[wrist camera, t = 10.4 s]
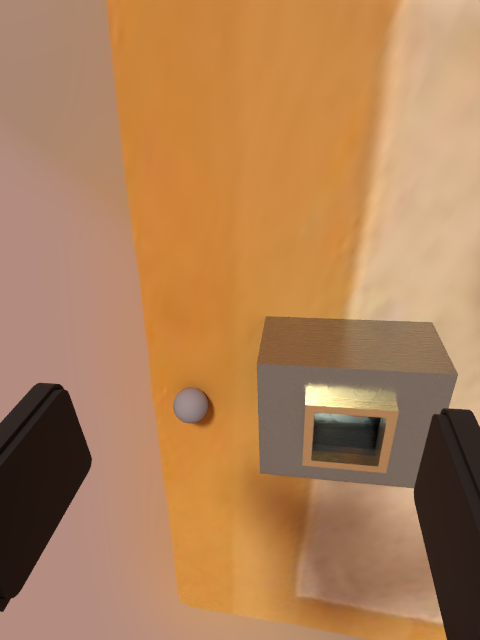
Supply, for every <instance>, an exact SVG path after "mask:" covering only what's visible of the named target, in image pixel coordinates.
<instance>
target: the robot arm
mask: <svg viewBox="0 0 480 640" xmlns="http://www.w3.org/2000/svg"><path fill="white" fill-rule="evenodd" d="M91 461H92V458H91V454H90V451H89V449H88V446H87V443H86V440H85V437H84V435H83V432H82V429H81V426H80V424H79V421H78V418H77V415H76V412H75V409H74V407H73V404H72V401H71V398H70V395H69V393H68V391H66V390H64V388H63V387H62V386H61V385H60V384H49V383H38V384H36V385H35V386H33V388H32V389H31V390H30V391H29V392H28V393H27V394H26V395H25V396H24V397H23V399H22V400H21V401H20V402H19V403H18V404H17V405H16V406H15V407H14V409H13V410H12V411H11V412H10V413H9V414H8V415H7V416H6V417H5V418H4V420H3V421H2V422H1V423H0V611H1V612H3V611H4V609H5V608H6V606H7V604H8V603H9V601H10V599H11V598H14V597H15V596H16V595H17V594H18V593H19V592H20V591H21V589H22V587H23V586H24V584H25V582H26V580H27V579H28V577H29V575H30V573H31V572H32V570H33V568H34V566H35V565H36V563H37V561H38V559H39V558H40V556H41V554H42V552H43V550H44V549H45V547H46V545H47V544H48V542H49V540H50V538H51V537H52V535H53V533H54V531H55V530H56V528H57V526H58V524H59V522H60V521H61V519H62V517H63V515H64V514H65V512H66V510H67V508H68V507H69V505H70V503H71V501H72V500H73V498H74V496H75V494H76V493H77V491H78V489H79V487H80V486H81V484H82V482H83V480H84V479H85V477H86V475H87V473H88V472H89V470H90V467H91ZM414 501H415V506H416V510H417V514H418V518H419V522H420V527H421V531H422V535H423V539H424V544H425V548H426V552H427V556H428V561H429V565H430V569H431V573H432V577H433V582H434V586H435V590H436V594H437V599H438V603H439V607H440V611H441V616H442V620H443V624H444V628H445V632H446V637H447V640H480V427H479V425H478V422H477V420H476V418H475V416H474V414H473V413H472V411H470V410H463V409H447V408H443V409H442V410H441V413H440V414H434V415H433V416H432V419H431V423H430V427H429V431H428V435H427V439H426V443H425V447H424V451H423V455H422V458H421V462H420V466H419V470H418V474H417V478H416V482H415V486H414Z"/></svg>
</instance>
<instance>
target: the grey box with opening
mask: <svg viewBox="0 0 480 640" xmlns="http://www.w3.org/2000/svg"><path fill="white" fill-rule="evenodd" d="M457 376H458V374H457V372H456V370H455V368H454V366H453V364H452V362H451V359H450V357H449V355H448V353H447V351H446V349H445V347H444V345H443V343H442V341H441V339H440V337H439V335H438V333H437V331H436V329H435V327H434V325H433V323H427V322H399V321H372V320H345V319H318V318H291V317H266V319H265V324H264V329H263V335H262V340H261V345H260V350H259V356H258V361H257V381H258V415H259V450H260V473H261V474H272V475H282V476H293V477H303V478H313V479H324V480H334V481H344V482H355V483H365V484H376V485H386V486H396V487H407V488H414V486H415V482H416V478H417V474H418V470H419V466H420V462H421V458H422V455H423V451H424V447H425V443H426V439H427V435H428V431H429V427H430V423H431V419H432V416H433V415H434V414H440V413H441V410H442V409H443V408H447V409H448V407H449V404H450V400H451V397H452V393H453V390H454V387H455V383H456V380H457ZM351 415H354V416H366V417H354V416H351Z"/></svg>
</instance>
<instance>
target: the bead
mask: <svg viewBox="0 0 480 640" xmlns="http://www.w3.org/2000/svg"><path fill="white" fill-rule="evenodd" d="M173 408H174V412H175V414H176V416H177V417H178V418H179V419H180V420H181V421H183V422H185V423H196V422H198V421H200V420H201V419H203V417H204V416H205V415H206V413H207V411H208V400H207V397H206V395H205V394H204V393H203V392H202V391H201V390H199V389H196V388H186V389H184V390H182V391H180V392H179V393H178V394H177V396H176V397H175V400H174V404H173Z"/></svg>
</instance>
